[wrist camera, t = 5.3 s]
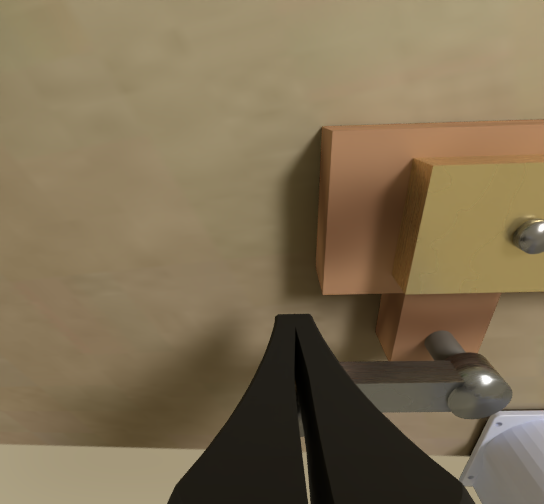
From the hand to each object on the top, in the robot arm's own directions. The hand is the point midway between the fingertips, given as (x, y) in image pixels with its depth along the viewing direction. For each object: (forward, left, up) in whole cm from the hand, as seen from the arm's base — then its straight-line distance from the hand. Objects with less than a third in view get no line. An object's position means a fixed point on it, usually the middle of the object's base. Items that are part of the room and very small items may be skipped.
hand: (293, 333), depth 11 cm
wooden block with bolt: (+4, -8, -2) cm, 9 cm away
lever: (-3, -4, 0) cm, 5 cm away
